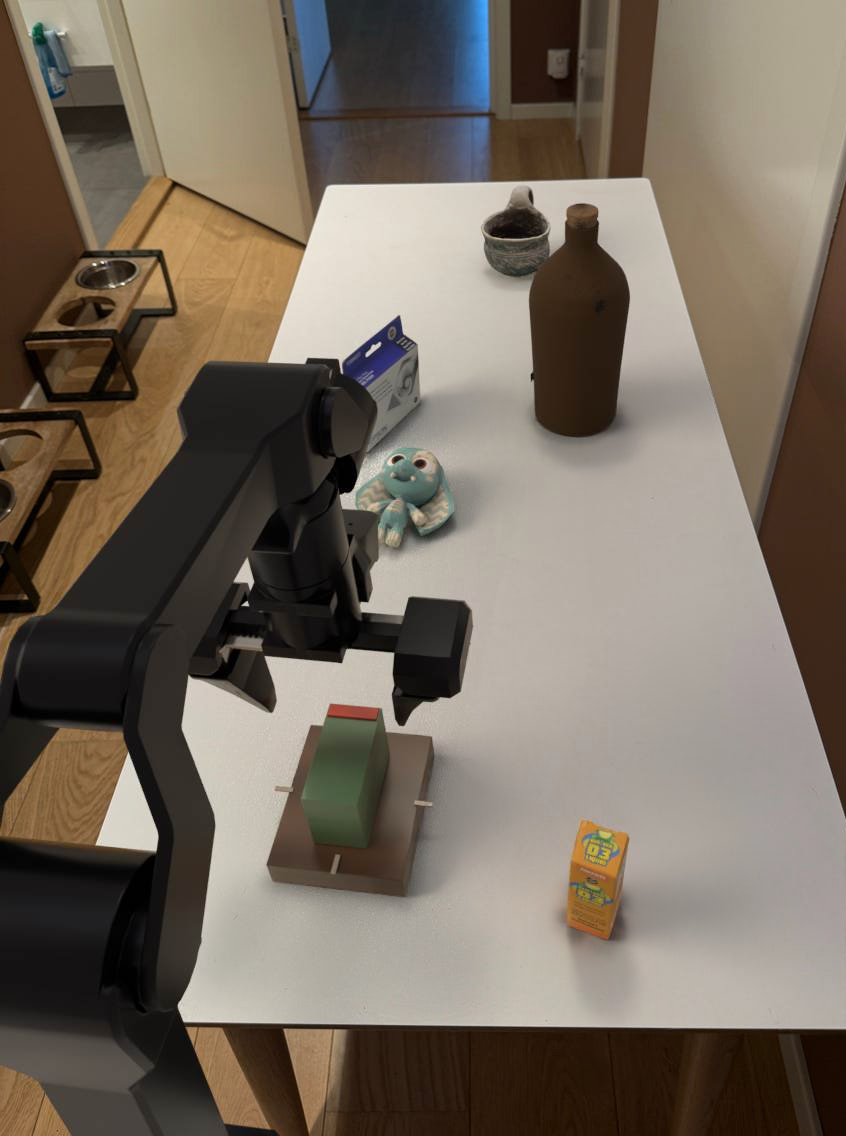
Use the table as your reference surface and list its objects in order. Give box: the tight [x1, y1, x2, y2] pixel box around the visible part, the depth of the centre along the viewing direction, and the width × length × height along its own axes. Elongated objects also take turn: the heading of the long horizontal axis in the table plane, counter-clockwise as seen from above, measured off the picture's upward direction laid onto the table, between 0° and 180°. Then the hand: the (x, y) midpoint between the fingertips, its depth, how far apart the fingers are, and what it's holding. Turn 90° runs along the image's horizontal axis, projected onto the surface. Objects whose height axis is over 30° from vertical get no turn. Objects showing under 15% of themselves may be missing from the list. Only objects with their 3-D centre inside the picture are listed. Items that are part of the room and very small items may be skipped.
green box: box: [301, 703, 390, 849], centre depth 70 cm, size 8×4×6 cm, turn 172°
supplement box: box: [566, 818, 630, 941], centre depth 64 cm, size 3×3×10 cm
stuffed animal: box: [354, 446, 455, 548], centre depth 97 cm, size 11×7×12 cm
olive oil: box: [528, 202, 631, 438], centre depth 103 cm, size 11×11×25 cm
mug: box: [480, 185, 552, 278], centre depth 135 cm, size 10×12×10 cm
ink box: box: [341, 314, 421, 454], centre depth 107 cm, size 12×2×12 cm, turn 149°
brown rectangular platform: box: [266, 724, 435, 898], centre depth 73 cm, size 12×12×3 cm
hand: (337, 713), depth 65 cm, fingers open, 9 cm apart
